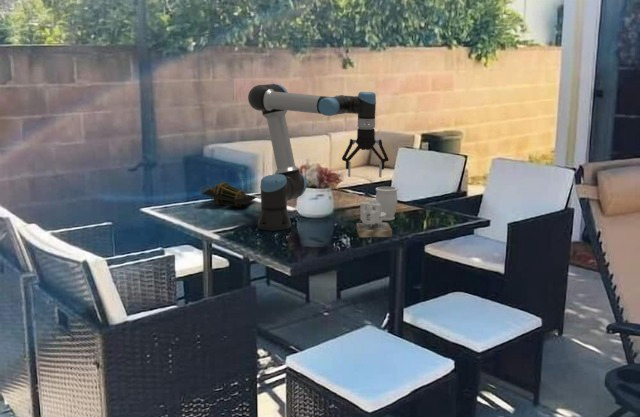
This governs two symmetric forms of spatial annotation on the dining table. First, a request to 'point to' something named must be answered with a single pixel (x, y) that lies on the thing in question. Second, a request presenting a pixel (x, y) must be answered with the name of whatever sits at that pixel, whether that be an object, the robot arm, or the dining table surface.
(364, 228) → the stand
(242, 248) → the dining table surface
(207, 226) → the dining table surface
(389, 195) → the jar
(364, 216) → the mechanical part
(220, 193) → the lantern
